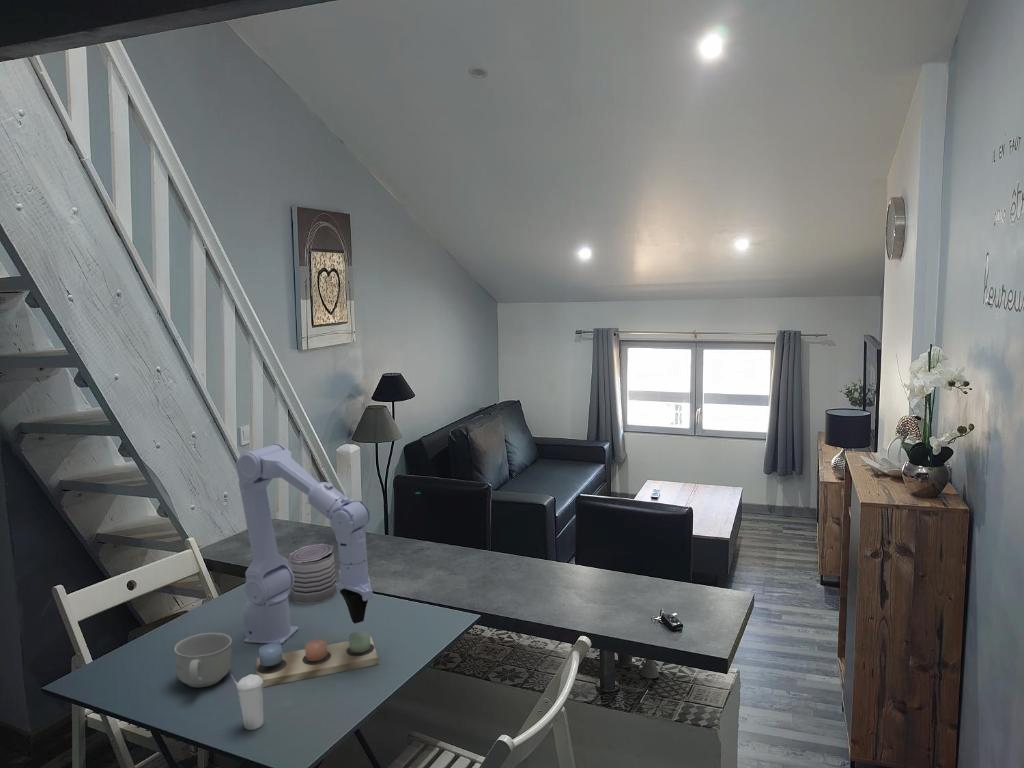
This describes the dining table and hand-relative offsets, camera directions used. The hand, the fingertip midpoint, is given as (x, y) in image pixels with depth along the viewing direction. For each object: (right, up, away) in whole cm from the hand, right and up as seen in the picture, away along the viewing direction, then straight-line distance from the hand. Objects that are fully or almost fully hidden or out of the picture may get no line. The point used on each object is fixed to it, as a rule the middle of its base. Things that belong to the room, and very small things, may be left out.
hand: (357, 621), depth 158 cm
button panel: (-8, -9, -2) cm, 12 cm away
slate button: (-17, -7, -5) cm, 19 cm away
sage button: (0, -6, +1) cm, 6 cm away
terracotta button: (-8, -7, -2) cm, 11 cm away
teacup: (-30, -11, -7) cm, 32 cm away
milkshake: (-15, -12, -23) cm, 29 cm away
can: (-18, -4, +34) cm, 39 cm away
